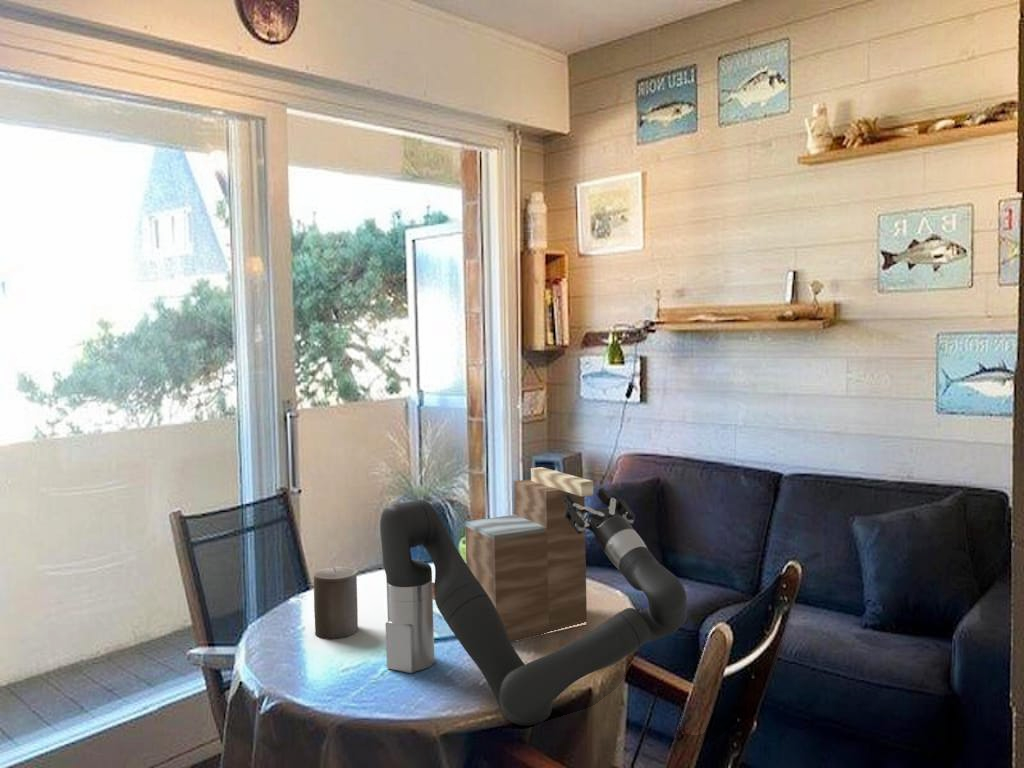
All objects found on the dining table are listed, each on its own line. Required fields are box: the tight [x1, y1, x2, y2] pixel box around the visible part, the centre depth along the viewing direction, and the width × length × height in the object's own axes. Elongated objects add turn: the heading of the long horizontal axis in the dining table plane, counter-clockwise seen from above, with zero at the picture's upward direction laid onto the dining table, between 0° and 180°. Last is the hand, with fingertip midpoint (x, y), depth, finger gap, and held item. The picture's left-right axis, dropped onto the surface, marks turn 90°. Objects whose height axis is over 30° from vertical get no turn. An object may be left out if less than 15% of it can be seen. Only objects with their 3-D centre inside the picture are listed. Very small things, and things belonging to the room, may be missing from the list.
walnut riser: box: [464, 478, 588, 643], centre depth 185 cm, size 15×23×32 cm, turn 118°
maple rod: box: [530, 466, 594, 497], centre depth 182 cm, size 22×3×3 cm, turn 28°
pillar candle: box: [313, 566, 359, 640], centre depth 184 cm, size 10×10×15 cm
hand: (583, 493), depth 175 cm, fingers open, 8 cm apart
